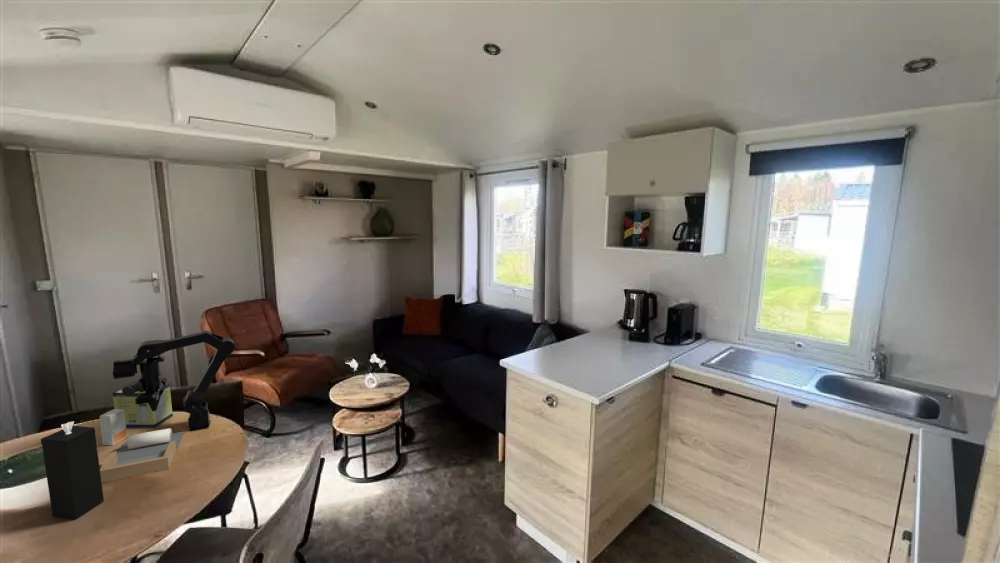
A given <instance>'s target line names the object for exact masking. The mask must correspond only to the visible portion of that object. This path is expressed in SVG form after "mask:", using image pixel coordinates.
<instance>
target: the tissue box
mask: <svg viewBox="0 0 1000 563" xmlns="http://www.w3.org/2000/svg"><path fill="white" fill-rule="evenodd" d="M74 423H75V421H74V420H73V421H68V422H67V423H63V424H60V425H61V428H62V429H61V430H59V431H56V432H54V433H51V434H49V435H47V436H43V437H42V438H40V444H41V447H42V453H43V461H44V470H45V474H46V481H47V487H48V495H49V500H50V508H51V514H52V515H51V516H52V518H53V517H54V518H62V519H70V520H77V519H79V518H80V517H82V516H83V515H85V514H86V513H88V512H89V511H91V510H93V509H94V508H96V507H97V506H99V505H101V504H102V503H103V502H104V501H105V500H104V492H103V491H104V490H103V485H102V484H103V483H101V475H100V468H101V467H100V461H99V452H98V446H97V443H98V442H97V436H96V427H93V426H83V425H74Z"/></svg>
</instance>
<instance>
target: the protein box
mask: <svg viewBox="0 0 1000 563" xmlns="http://www.w3.org/2000/svg"><path fill="white" fill-rule="evenodd" d="M122 388H123V387H122ZM122 388H119V389H117V390H115V391H113V392H112V400H113V408H114V409H124V412H125V422H126V429H127V428H132V429H133V428H136V429H137V428H138V429H139V428H140V429H141V428H142V429H144V428H147V429H148V428H149V429H150V428H151V429H155V428H156V427H158V426H159V425H161V424H162V422H163V423H164V422H166V421H167V420H169V419H170V418H172V417H174V413H173V408H172V407H173V406H172V396H171V386H170V383H169V382H168V384H167V386H164V384H163V385H162V387H161V388H160V390H164V392H163V395H162V397H161V400H160V402H159V405H158V407H157V410H156V411H152V410H151V408H150V406H149V404H148V403H144V404H136V403H135V399H136V398H137V396H138V395H139V394H140V393H145V391H144V392H140V393H139V391H138V392H135V393H133V394H130V395H129V396H126V395H125V394H122Z"/></svg>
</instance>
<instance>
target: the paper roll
mask: <svg viewBox="0 0 1000 563" xmlns="http://www.w3.org/2000/svg"><path fill="white" fill-rule="evenodd" d="M172 434H173V431H172V428H171V427H170V428H164V429H159V430H153V431H148V432H142V433H134V434H129V436H127V442H128V449H133V448H138V447H144V446H149V445H155V444H160V443H166V442H170V441H171V438H172Z"/></svg>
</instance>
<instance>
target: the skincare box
mask: <svg viewBox="0 0 1000 563" xmlns="http://www.w3.org/2000/svg"><path fill="white" fill-rule="evenodd" d="M99 423H100V434H101V442H102V444H101V445H104V446H114V445H115V444H118V443H120V442H121V441H123V440H125V439H128V432H127V428H126V422H125V412H124V409H111V410H108V411H107V412H105V413H102V414H101V415H99Z"/></svg>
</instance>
